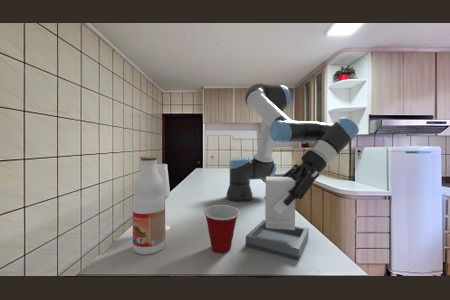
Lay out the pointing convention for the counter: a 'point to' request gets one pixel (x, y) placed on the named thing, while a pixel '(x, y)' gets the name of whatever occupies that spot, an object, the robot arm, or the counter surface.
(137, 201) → the fruit juice
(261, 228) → the tray
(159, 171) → the champagne flute
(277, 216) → the supplement box
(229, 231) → the plastic cup
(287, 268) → the counter surface
